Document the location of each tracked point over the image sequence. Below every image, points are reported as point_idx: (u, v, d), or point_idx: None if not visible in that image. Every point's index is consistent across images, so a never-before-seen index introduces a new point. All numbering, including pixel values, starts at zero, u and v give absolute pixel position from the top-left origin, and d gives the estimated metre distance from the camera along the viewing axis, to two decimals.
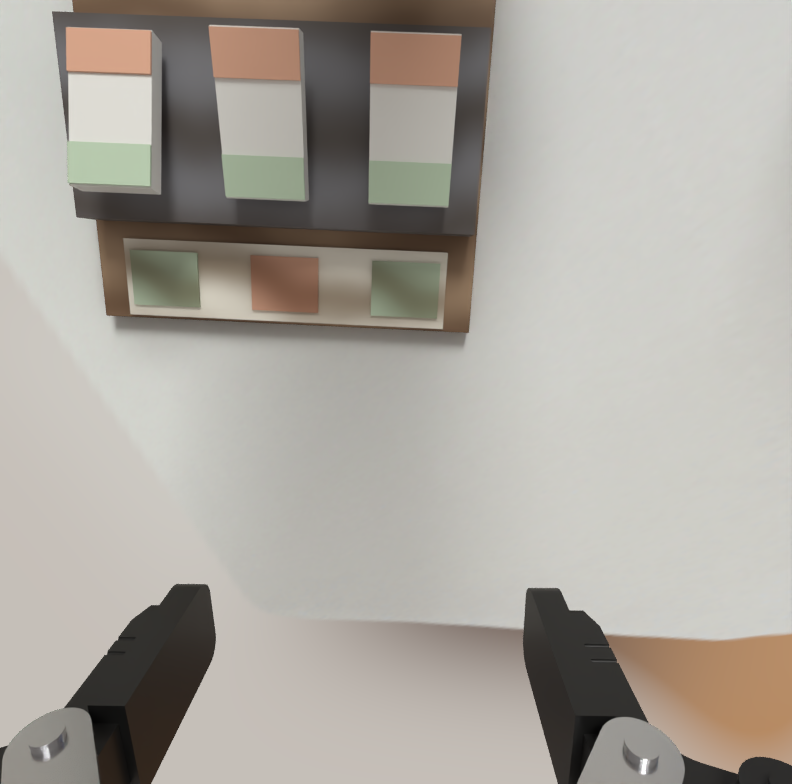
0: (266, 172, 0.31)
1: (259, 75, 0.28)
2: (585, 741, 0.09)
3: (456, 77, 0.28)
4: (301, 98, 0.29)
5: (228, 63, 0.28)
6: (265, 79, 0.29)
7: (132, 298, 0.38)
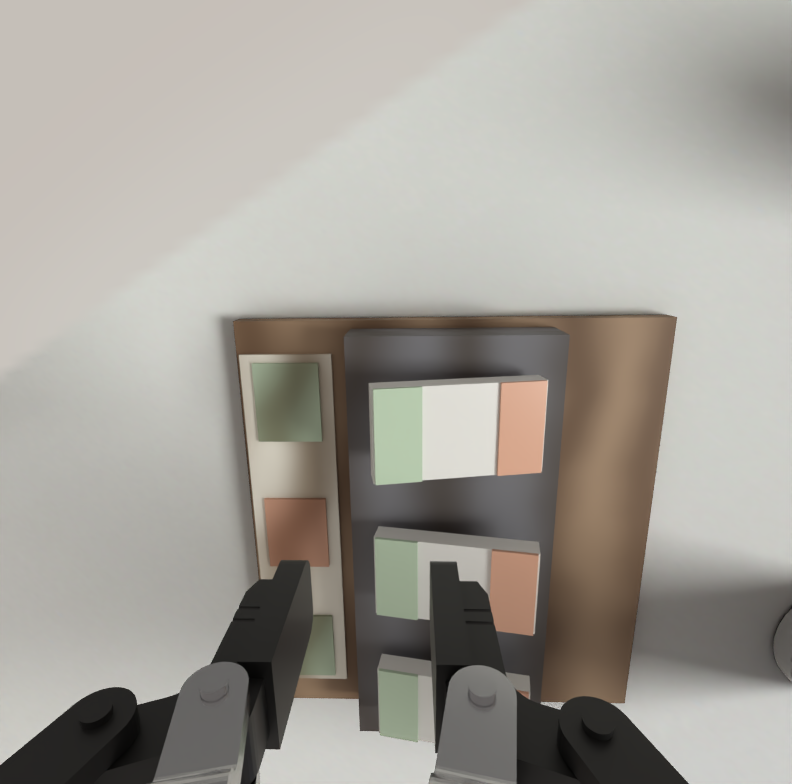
0: (401, 580, 0.28)
1: (493, 593, 0.27)
2: (447, 688, 0.10)
3: None
4: None
5: (504, 567, 0.26)
6: (489, 599, 0.27)
7: (258, 359, 0.30)
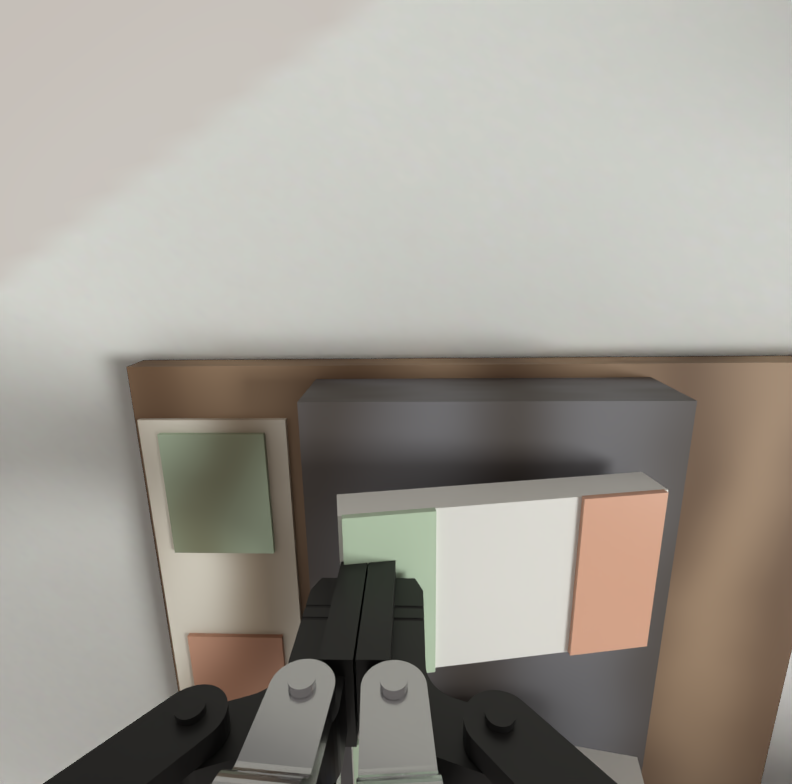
0: None
1: None
2: None
3: None
4: None
5: None
6: None
7: (169, 428, 0.19)
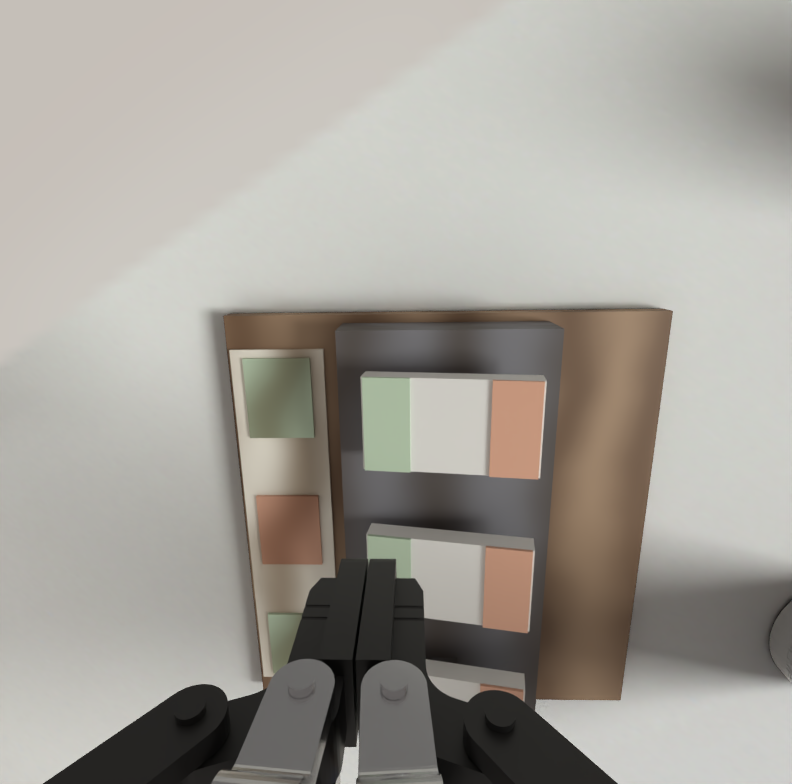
0: None
1: (487, 591, 0.27)
2: None
3: None
4: (467, 621, 0.28)
5: (498, 564, 0.26)
6: (483, 596, 0.27)
7: (249, 355, 0.30)
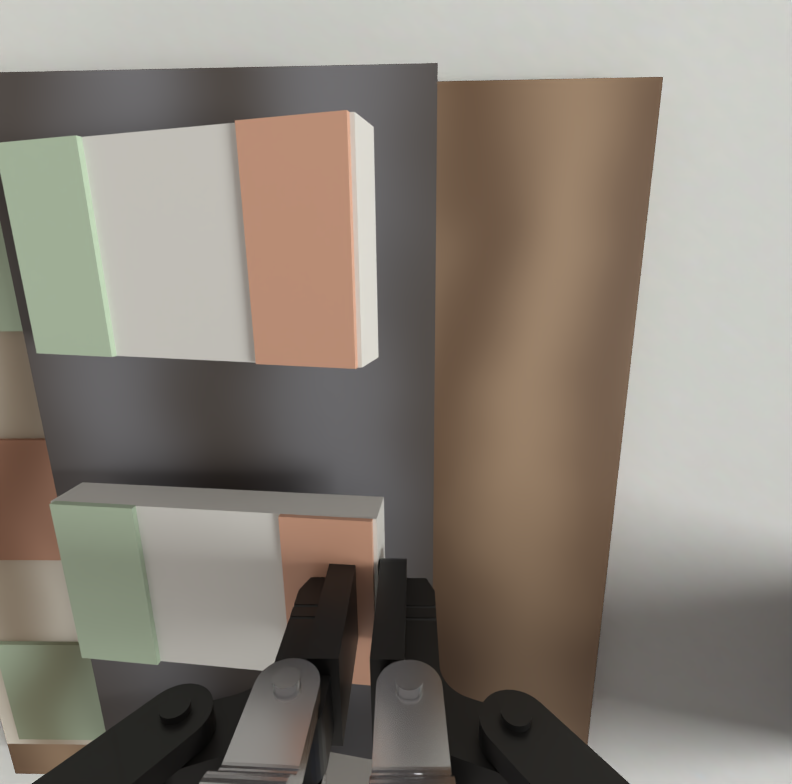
0: (118, 588, 0.14)
1: (291, 606, 0.13)
2: None
3: None
4: (264, 667, 0.14)
5: (306, 551, 0.13)
6: (286, 616, 0.13)
7: None
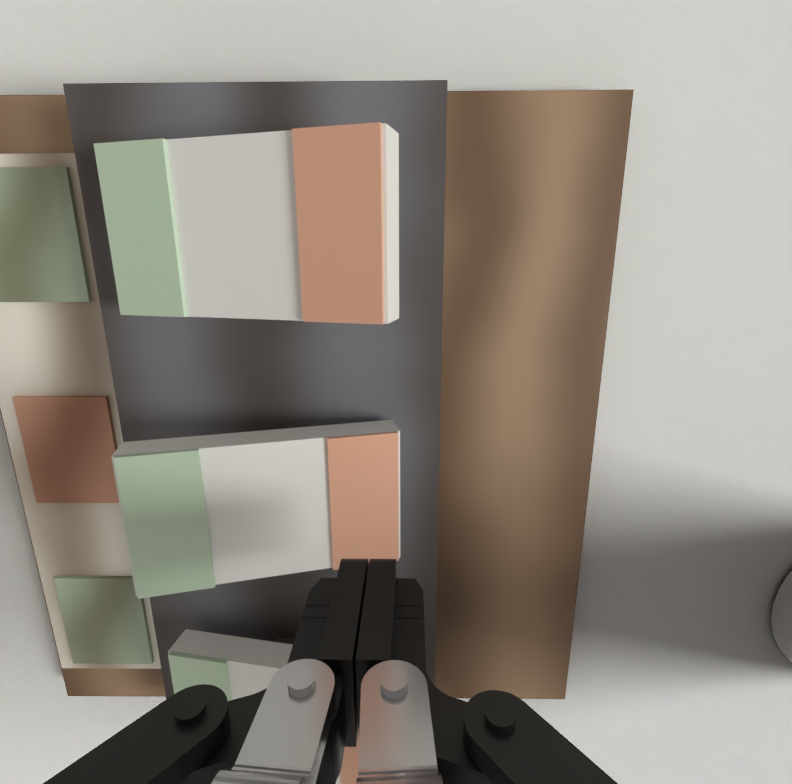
0: (177, 526, 0.16)
1: (335, 510, 0.17)
2: None
3: (342, 783, 0.19)
4: (308, 569, 0.18)
5: (349, 463, 0.17)
6: (330, 519, 0.17)
7: None
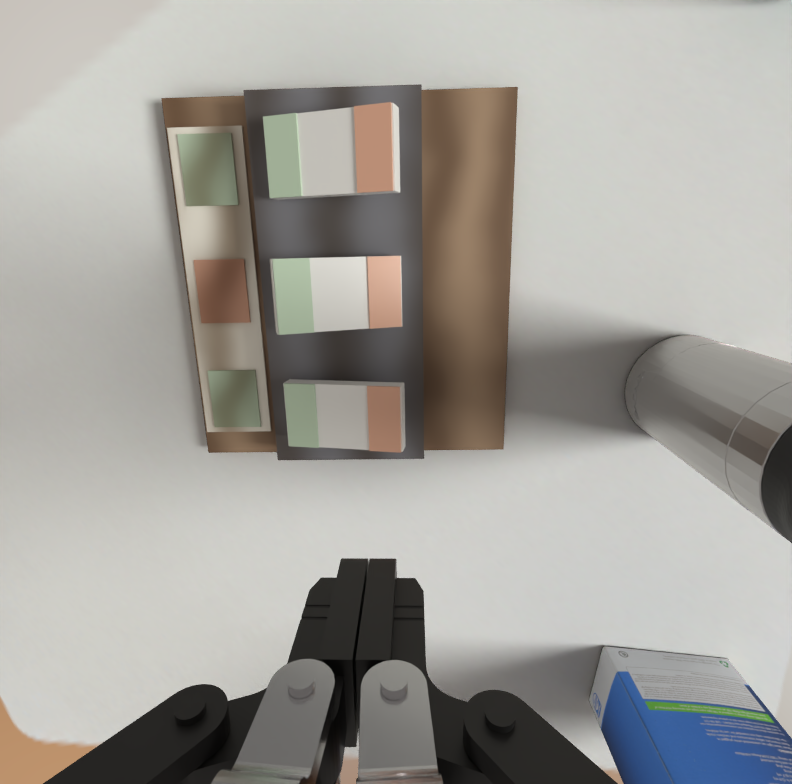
0: (298, 298, 0.34)
1: (371, 295, 0.35)
2: None
3: (374, 450, 0.37)
4: (357, 328, 0.36)
5: (377, 270, 0.35)
6: (369, 300, 0.35)
7: (183, 131, 0.37)
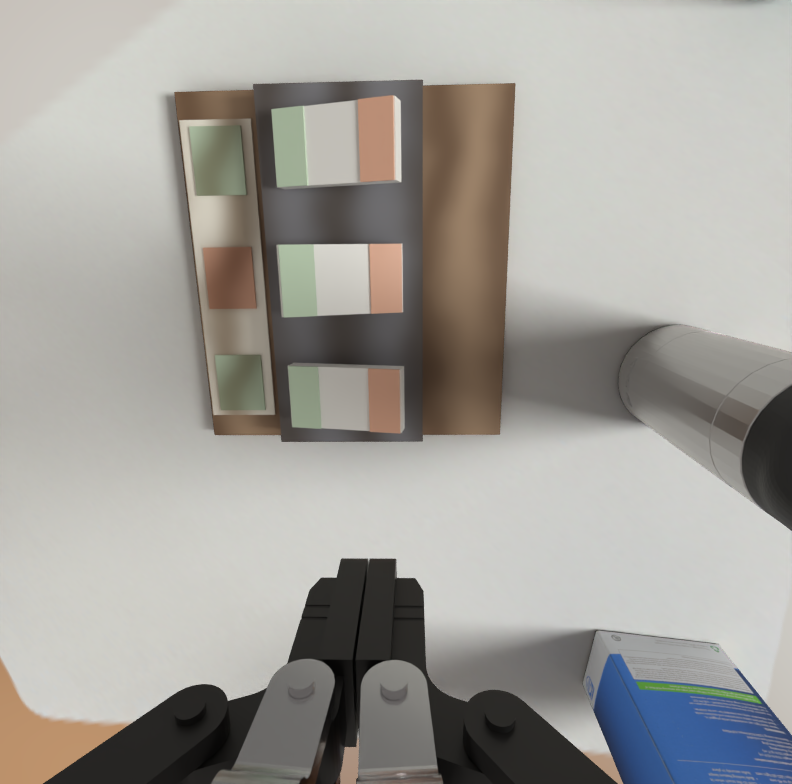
0: (302, 282, 0.35)
1: (372, 281, 0.37)
2: None
3: (375, 430, 0.38)
4: (359, 313, 0.37)
5: (379, 257, 0.36)
6: (370, 286, 0.37)
7: (194, 123, 0.39)
